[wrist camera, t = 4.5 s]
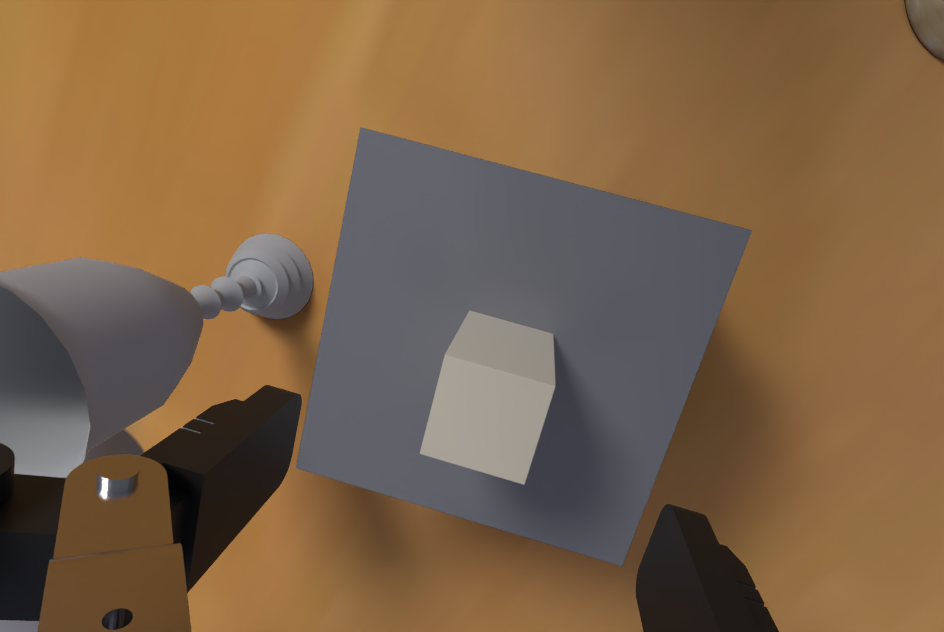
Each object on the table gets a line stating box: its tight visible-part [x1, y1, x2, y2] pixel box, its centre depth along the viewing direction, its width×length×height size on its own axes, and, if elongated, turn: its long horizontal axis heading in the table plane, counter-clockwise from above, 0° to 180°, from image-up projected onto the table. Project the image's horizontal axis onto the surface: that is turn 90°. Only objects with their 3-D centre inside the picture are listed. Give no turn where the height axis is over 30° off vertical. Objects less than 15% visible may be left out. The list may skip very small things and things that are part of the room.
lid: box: [296, 128, 752, 566], centre depth 19 cm, size 13×13×7 cm
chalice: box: [0, 233, 313, 478], centre depth 25 cm, size 7×7×18 cm
